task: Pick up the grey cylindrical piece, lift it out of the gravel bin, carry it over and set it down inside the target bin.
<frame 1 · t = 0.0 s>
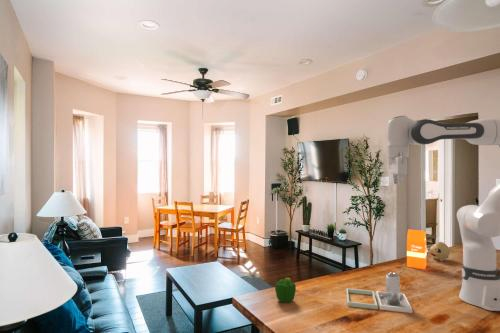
hand: (398, 184, 136), 48 cm above the table, tool pointing down, fingers open, 8 cm apart
target bin: (361, 303, 127), on the table
gravel bin: (392, 306, 124), on the table
orange juice: (416, 266, 173), on the table
bell pepper: (285, 301, 130), on the table
toy pig: (438, 260, 183), on the table
grey cylindrical piece: (392, 303, 124), point 1 cm above the table, touching gravel bin
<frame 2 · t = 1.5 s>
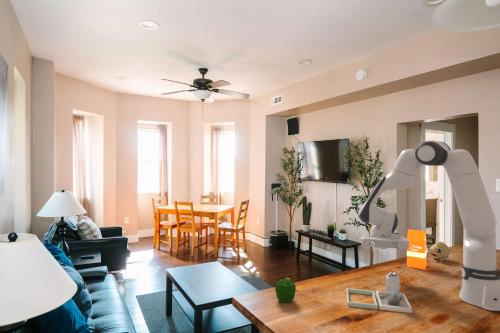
hand: (387, 246, 136), 21 cm above the table, tool horizontal, fingers open, 8 cm apart
nothing on the table moved.
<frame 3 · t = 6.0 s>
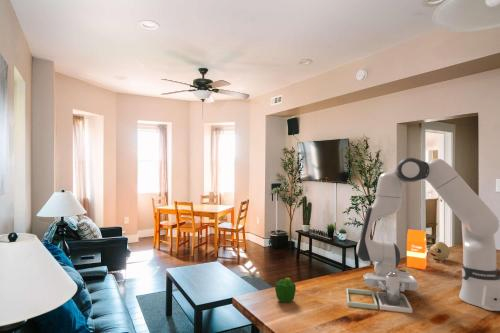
hand: (393, 288, 123), 8 cm above the table, tool horizontal, fingers closed on grey cylindrical piece, 5 cm apart
grey cylindrical piece: (392, 303, 124), point 1 cm above the table, touching gravel bin, gripper
everything else where it was.
when the fingers open (8 cm above the table, at t = 10.9 s): grey cylindrical piece drops 1 cm, resting on target bin.
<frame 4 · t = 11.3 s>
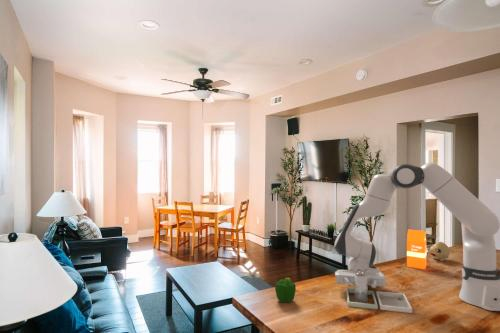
hand: (361, 284, 126), 8 cm above the table, tool horizontal, fingers open, 8 cm apart
grey cylindrical piece: (361, 302, 127), point 1 cm above the table, touching target bin
everything else where it was.
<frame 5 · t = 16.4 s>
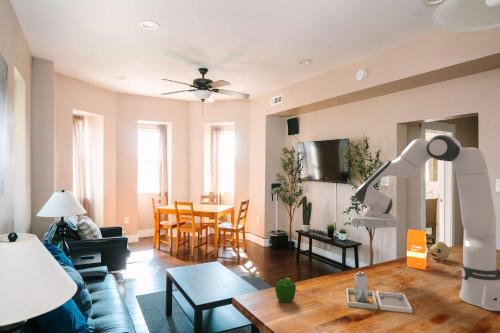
hand: (375, 224, 138), 30 cm above the table, tool horizontal, fingers open, 8 cm apart
nothing on the table moved.
at the end: grey cylindrical piece inside the target area on the target bin (0.0 cm from its centre), point 0.6 cm above the target bin's base; grey cylindrical piece tilted 1°; the gripper is holding nothing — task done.
